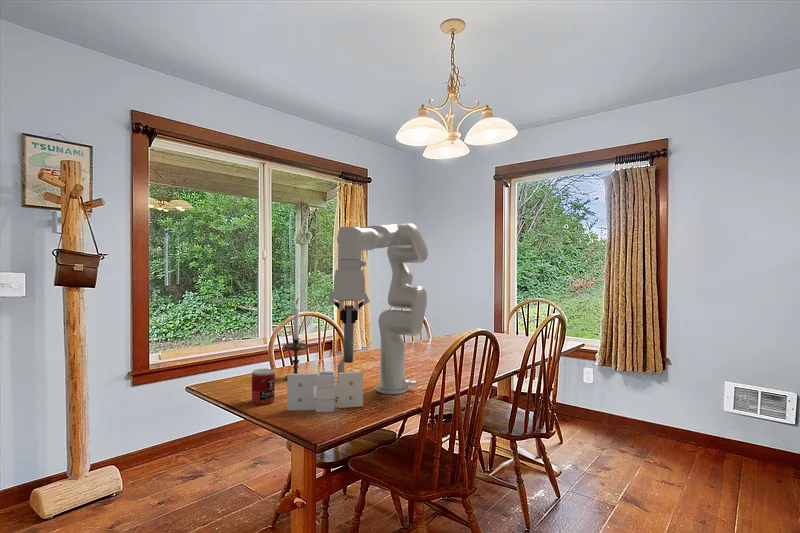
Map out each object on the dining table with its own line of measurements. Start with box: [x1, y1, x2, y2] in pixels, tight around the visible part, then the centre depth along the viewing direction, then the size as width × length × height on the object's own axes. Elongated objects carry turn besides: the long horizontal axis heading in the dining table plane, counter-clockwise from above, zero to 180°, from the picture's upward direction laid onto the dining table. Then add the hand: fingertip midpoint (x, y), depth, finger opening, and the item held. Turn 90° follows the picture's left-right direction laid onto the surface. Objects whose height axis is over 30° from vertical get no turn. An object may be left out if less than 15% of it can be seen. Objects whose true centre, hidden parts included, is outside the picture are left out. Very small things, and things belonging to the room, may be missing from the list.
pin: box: [343, 304, 355, 364], centre depth 136 cm, size 3×3×18 cm
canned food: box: [251, 368, 276, 406], centre depth 151 cm, size 8×8×11 cm
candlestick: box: [282, 298, 310, 382], centre depth 182 cm, size 11×11×35 cm
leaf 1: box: [286, 371, 336, 413], centre depth 143 cm, size 16×6×12 cm, turn 96°
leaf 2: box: [317, 371, 364, 409], centre depth 145 cm, size 16×6×12 cm, turn 104°
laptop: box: [313, 355, 345, 402], centre depth 162 cm, size 18×12×13 cm
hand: (348, 322), depth 136 cm, fingers closed on pin, 3 cm apart
